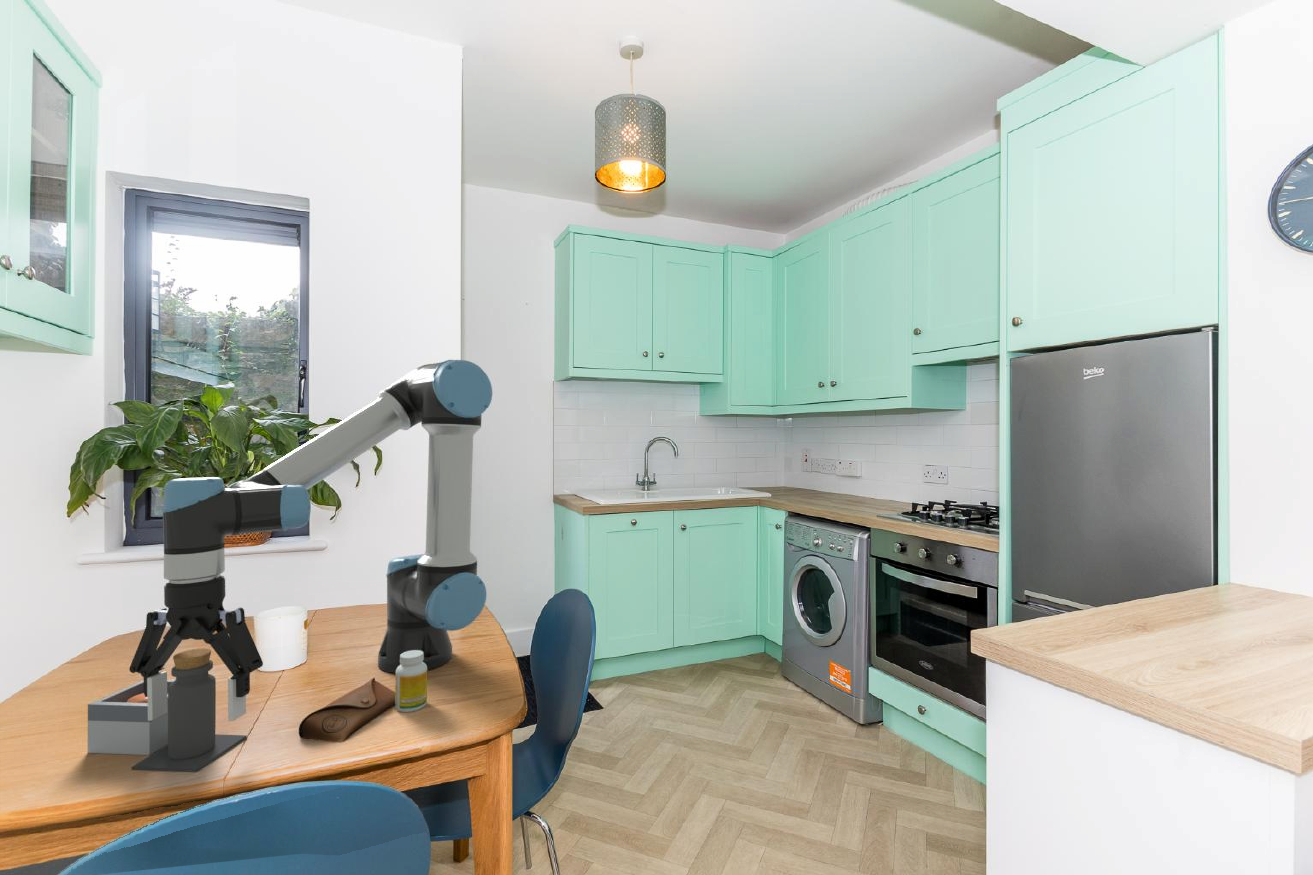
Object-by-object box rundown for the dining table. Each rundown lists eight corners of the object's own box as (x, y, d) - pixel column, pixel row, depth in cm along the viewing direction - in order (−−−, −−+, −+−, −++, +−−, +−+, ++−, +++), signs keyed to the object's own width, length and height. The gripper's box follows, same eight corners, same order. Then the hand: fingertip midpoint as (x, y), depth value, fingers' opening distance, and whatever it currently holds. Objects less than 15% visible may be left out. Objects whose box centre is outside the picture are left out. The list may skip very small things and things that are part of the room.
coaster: (246, 737, 98) (246, 735, 98) (196, 771, 88) (196, 768, 88) (187, 735, 99) (187, 733, 99) (131, 769, 89) (131, 766, 89)
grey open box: (201, 724, 103) (202, 680, 103) (149, 754, 93) (149, 706, 93) (145, 722, 103) (145, 678, 103) (87, 752, 93) (87, 704, 93)
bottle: (189, 762, 90) (190, 661, 90) (157, 757, 91) (158, 658, 91) (224, 742, 96) (225, 648, 96) (194, 738, 97) (194, 645, 97)
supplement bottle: (389, 707, 109) (389, 654, 109) (415, 697, 114) (415, 646, 114) (406, 715, 106) (407, 661, 106) (433, 704, 111) (433, 652, 111)
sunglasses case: (343, 743, 96) (325, 705, 97) (310, 761, 98) (292, 723, 98) (410, 696, 114) (394, 664, 115) (381, 712, 115) (366, 680, 116)
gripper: (287, 571, 97) (289, 706, 97) (141, 572, 98) (143, 705, 98) (254, 583, 89) (256, 729, 89) (96, 583, 90) (98, 727, 90)
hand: (197, 716), depth 93 cm, fingers open, 12 cm apart
